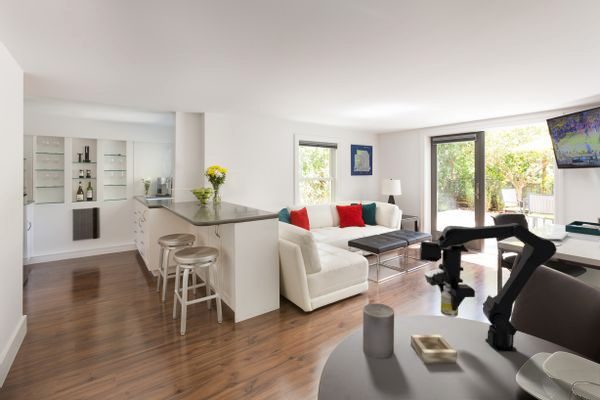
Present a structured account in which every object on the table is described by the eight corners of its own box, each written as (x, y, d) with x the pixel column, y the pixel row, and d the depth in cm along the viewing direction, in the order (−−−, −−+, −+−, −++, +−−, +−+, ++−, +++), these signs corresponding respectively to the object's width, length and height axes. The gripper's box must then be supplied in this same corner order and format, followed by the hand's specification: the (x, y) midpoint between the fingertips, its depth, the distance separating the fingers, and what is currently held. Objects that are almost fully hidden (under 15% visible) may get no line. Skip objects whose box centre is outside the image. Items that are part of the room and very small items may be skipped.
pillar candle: (379, 339, 101) (379, 297, 100) (400, 354, 93) (401, 308, 92) (356, 346, 97) (356, 302, 96) (376, 363, 88) (377, 315, 87)
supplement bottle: (453, 310, 104) (455, 284, 104) (460, 318, 99) (462, 289, 98) (438, 310, 105) (439, 283, 104) (444, 317, 99) (445, 289, 99)
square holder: (440, 344, 98) (440, 334, 98) (456, 363, 88) (457, 352, 88) (410, 344, 98) (410, 334, 98) (423, 363, 88) (424, 352, 88)
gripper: (416, 255, 110) (415, 296, 111) (442, 271, 91) (439, 319, 92) (446, 255, 110) (444, 296, 111) (477, 271, 91) (474, 319, 92)
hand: (449, 306), depth 102 cm, fingers closed on supplement bottle, 5 cm apart
